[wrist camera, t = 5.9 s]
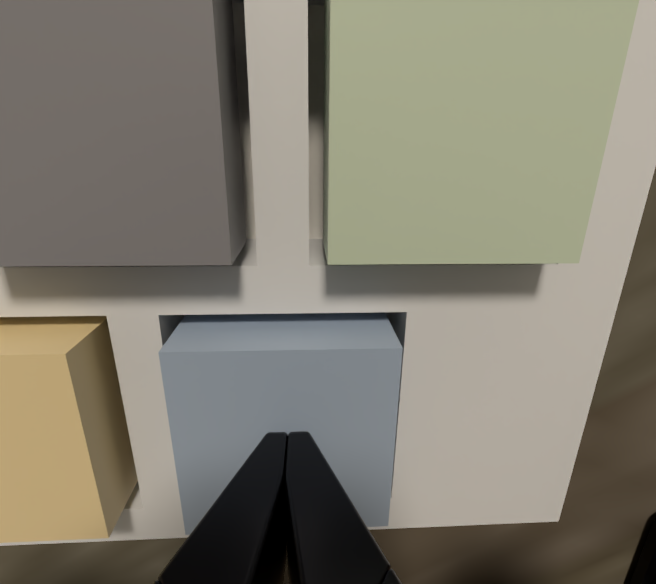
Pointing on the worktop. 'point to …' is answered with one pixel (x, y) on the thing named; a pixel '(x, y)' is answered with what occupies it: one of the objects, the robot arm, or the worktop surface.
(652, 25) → the keypad
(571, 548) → the worktop surface
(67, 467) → the block
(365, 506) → the key slate
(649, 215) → the worktop surface
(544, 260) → the key sage
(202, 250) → the key charcoal
